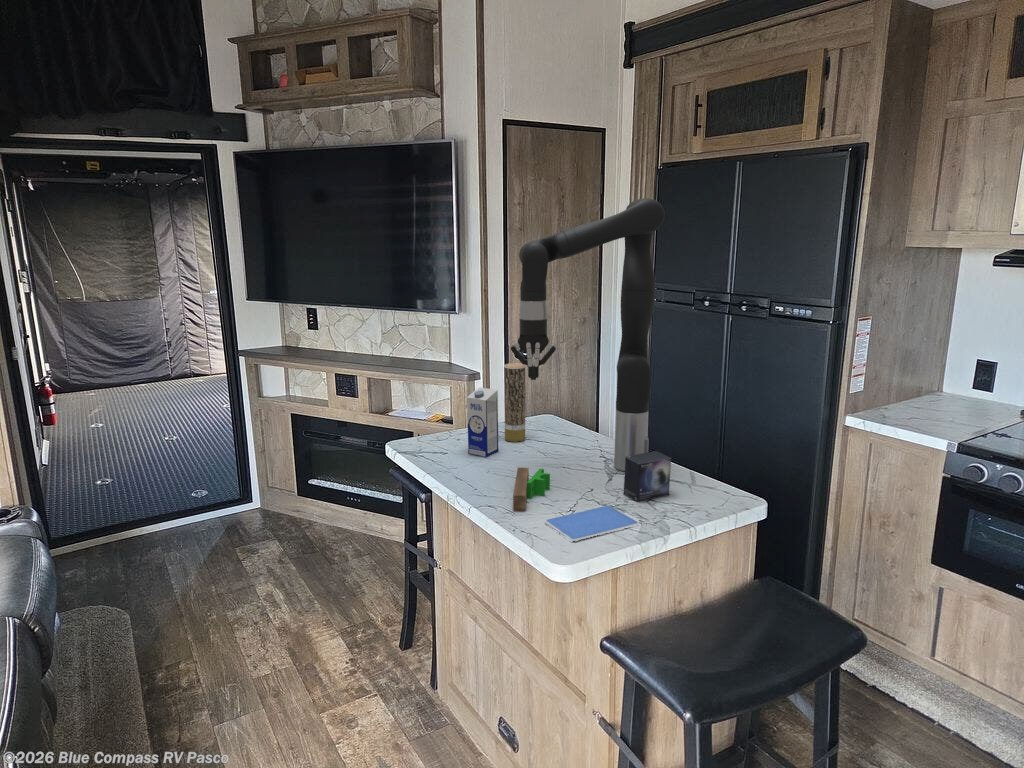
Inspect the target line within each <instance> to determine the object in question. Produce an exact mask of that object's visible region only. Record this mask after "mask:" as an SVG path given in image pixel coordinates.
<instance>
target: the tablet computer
mask: <svg viewBox="0 0 1024 768" xmlns="http://www.w3.org/2000/svg"><path fill="white" fill-rule="evenodd" d="M546 524H547V525H548V526H550V527H551V528H552V529H551V528H550V527H549V528H550V529H551V530H553V529H554V530H556V531H557V532H559V533H560V534H562V535H563V536H565V537H567V538H568V539H570V540H572V541H576V540H581V539H585V538H589V539H591V538H590V537H592V538H594V537H593V536H596V537H598V536H597V535H600V534H604V535H606V534H605V533H608V532H612V531H615V530H618V529H622V528H626V527H630V526H634V525H638V524H640V522H639V521H637V520H635V519H634V518H632V517H630V516H628V515H626V514H625V513H624V512H623V511H622V512H621V511H619V510H618V509H616V508H614V507H613V506H611V505H603V506H599V507H595V508H591V509H586V510H584V511H577V512H574V513H569V514H566V515H561V516H556V517H552V518H548V519H545V520H544V525H546ZM547 525H546V526H547ZM548 526H547V527H548ZM554 530H553V531H554ZM557 532H556V533H557ZM612 533H613V532H612ZM560 534H559V535H560ZM608 534H609V533H608ZM600 536H601V535H600ZM585 540H586V539H585ZM581 541H582V540H581Z"/></svg>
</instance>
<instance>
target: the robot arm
mask: <svg viewBox="0 0 1024 768" xmlns="http://www.w3.org/2000/svg"><path fill="white" fill-rule="evenodd" d="M665 215H666V214H665V209H664V207H663V205H662V204H661V203H660V202H659V201H658V200H656V199H654V198H646V197H645V198H638V199H634V200H633V201H631V202H629V204H628V205H627V206H626V207H625V210H623V211H620V212H619V213H616V214H614V215H611V216H608V217H605V218H602V219H597V220H594V221H589V222H587V223H582V224H580V225H576V226H573V227H570V228H567V229H564V230H561V231H559V232H556V233H555V234H552V235H549V236H545V237H542V238H538V239H535V240H531V241H529V242H526V243H524V244H523V245H522V246H521V247H520V250H519V253H518V257H519V262H520V263H521V267H522V268H521V273H522V274H521V275H522V277H521V279H522V280H521V282H520V291H519V293H520V295H519V296H520V302H519V314H518V316H519V337H518V339H517V342H516V343H515V344H513V345H511V347H510V351H511V352H512V353H513V354H514V356H515V357H516V358H517V360H518V361H519V362H520V364H523V365H525V366H527V369H528V370H527V377H528V378H530V380H531V381H537V378H539V373H540V372H539V369H540V366H542V365H545V364H546V362H547V361H548V360H549V359H550V358H551V356H552V355H553V354H554V352H556V349H557V346H556V345H554V344H552V343H550V339H549V336H548V305H547V278H548V277H547V276H548V266H549V263H550V262H553V261H556V260H561V259H566V258H569V257H573V256H576V255H578V254H581V253H584V252H587V251H589V250H591V249H594V248H597V247H599V246H602V245H605V244H607V243H611V242H613V241H617V240H620V239H623V238H624V257H623V265H622V275H621V277H622V279H621V289H620V324H621V325H620V326H621V341H620V347H619V348H620V349H619V354H618V358H617V363H616V397H615V398H616V399H615V424H614V425H615V427H614V429H615V430H614V457H613V461H614V463H613V466H614V468H615V469H617V470H618V471H622V472H625V457H626V456H631V455H637V454H642V453H648V452H649V436H648V434H649V433H648V432H649V429H648V428H649V409H650V402H651V401H650V399H651V385H652V369H651V366H650V363H649V355H648V354H649V353H648V340H649V339H648V338H649V330H650V327H651V323H652V318H653V314H654V308H655V299H656V297H655V296H656V277H655V270H654V265H653V260H652V241H653V233H655V232H656V231H657V230H658V229H659V228H660V227H661V226H662V225H663V223H664V221H665ZM521 349H522V350H523V352H524V353H525V354H526V357H527V358H525V357H524V355H523V354H522V353H521V351H520V350H521ZM545 349H546V351H547V352H546V353H545V354H544V355H543V357H542V358H541V359H540V354H542V353H543V351H544V350H545ZM533 355H534V360H533ZM533 362H534V363H533Z"/></svg>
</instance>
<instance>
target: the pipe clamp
mask: <svg viewBox="0 0 1024 768" xmlns="http://www.w3.org/2000/svg"><path fill="white" fill-rule="evenodd" d="M550 489H551V473H547V472H545V468H541V467H540V468H539V469H538V470H537V471H536V472H535V473H534V474H533V475H532V476H531V477H530V479H529V481H528V482H527V499H528V498H529V499H530V500H532V498H534V496H542V497H545V495H546V491H549V490H550ZM529 499H528V500H529Z"/></svg>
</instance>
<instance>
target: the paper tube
mask: <svg viewBox="0 0 1024 768" xmlns="http://www.w3.org/2000/svg"><path fill="white" fill-rule="evenodd" d="M503 372H504V373H503V374H504V375H503V376H504V377H503V378H504V379H503V382H504V385H503V386H504V387H503V389H504V391H503V392H504V394H503V395H504V397H503V399H504V400H503V401H504V407H503V408H504V440H505V441H507V442H510V443H511V442H512V443H519V442H518V441H520V442H523V441H525V439H526V365H525V364H524V365H523V364H522V363H521V362H520V363H518V362H514V363H513V362H512V363H511V362H510V363H505V364H504V365H503Z"/></svg>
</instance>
